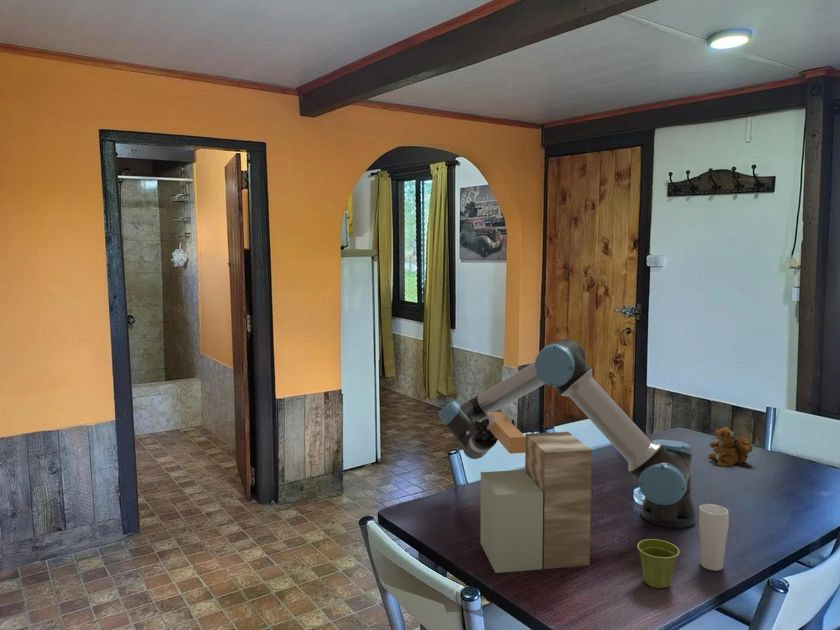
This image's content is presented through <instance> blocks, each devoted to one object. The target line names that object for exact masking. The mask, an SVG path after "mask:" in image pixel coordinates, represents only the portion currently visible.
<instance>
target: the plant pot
mask: <svg viewBox="0 0 840 630" xmlns="http://www.w3.org/2000/svg"><path fill="white" fill-rule="evenodd" d="M636 547H637V550H638V553H639V556H640V560H641V561H640V563H641V568H642V569H641V570H642V577H643V581H645V584H646V585H647V584H648V585H647V586H649V585H650V587H651V586H652V587H651V588H654V587H656V588H655V589H658V588H661V589H663V588H666V589H668V588H670V586H671V585H672V581H673V574H674V570H675V566H676V565H675V564H676V561H677V558H678V556H679V555H680V549H679V548H678V546H676V545H675V544H673V543H672V542H669V541H666V540H661V539H657V538H655V539H653V538H647V539H642V540H640V541H639V542H638V543H637V546H636ZM667 587H668V588H667Z"/></svg>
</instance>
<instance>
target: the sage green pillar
mask: <svg viewBox="0 0 840 630" xmlns="http://www.w3.org/2000/svg"><path fill="white" fill-rule="evenodd" d="M480 545H481V548H482V549H483V551H484V553H485V555H486V557H487V559H488V560H489V563H490V565H491V567H492V569H493V570H494V573H495V574H497V573H498V574H501V573H511V572H523V571H535V570H537V571H538V570H543V567H542V546H543V491H542V490H541V489H540V488H539V487H538V486H537V484H536V483H535V482H534V481H533V480H532V479H531V478H530V476H529V475H528V474H527V473H526V472H525V469H515V470H514V469H512V470H499V471H498V470H496V471H481V472H480Z"/></svg>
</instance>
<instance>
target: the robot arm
mask: <svg viewBox="0 0 840 630" xmlns="http://www.w3.org/2000/svg"><path fill="white" fill-rule="evenodd" d="M586 361H587V360H586V351H585V349H584V348H583V347H582V345H581V344H580V343H579V342H578V341H575V340H573V339H571V338H570V339H569V338H564V339H563V338H562V339H559V340H556V341H555V342H553V343H549V344H547V345H546V346H544V347H543V348H542V349H541V350H540V351H539V352H538V354H537V356H536V359H535V361H534V362H532V363H531V364H529V365H527V366H525V367H524V368H522V369H521V370H519V371H516V372H515V373H513V374H512V375H511V376H509V377H507V378H505V379H504V380H502V381H499V383H497V384H495V385H493V386H492V387H490V388H488V389H486V390H484V391H483V392H481V393H479V394H477V395H476V396H474V397H472V398H471V399H469V400H467V401H466V402H464V403H462V404H460V403H458V402H457V401H455V400H452V401H451V402H449V403H447V404H446V405H445V406H444V407H442V409H441V410H440V411H439V413H438V417H439V418H440V420H441V421H442V423H443V425H444V426H445V427H446V428H447V429H448V430H449V431H450V433H451V434H452V435H453V437H455V439H456V440H457V441H458V443H459V444H460V445H461V446H462V451H463V453H464V455H465V456H466V457H467V458H469V459H471V460H479V459H481V458H483V457H485V455H486V454H487V453H488V452H489V451H490V450H491V449H492V448H493V447H494V446H495V445H496V444H497V442H498V441H499V440H498V439H497V438H496V437H495V436H494V435H493V434H492V432H491V431H490V430H489V429H490V428H491V427H492V426H493V425H494V424H495V420H494V414H490V415H489V417H488V418H487V419H486V413H488V412H498V411H499V410H501V409H502V408H505V406H508V405H509V404H512V403H513V402H515V401H516V400H519V399H520V398H522V397H524V396H526V395H527V394H529V393H531V392H533V391H535V390H537V389H538V388H540V387H542V386H544V385H547V386H549V387H552V388H554V389H555V390H556V391H557V392H558V394H559V395H561V396H562V397H568V398H570V399H571V400H572V401H573V402H574V404H575V405H576V406H577V407H578V408H579V409H580V410H581V411H582V413H583V414H585V416H586V417H587V418H588V419H589V420H590V421H591V422H592V423H593V424H594V426H595V427H596V428H597V429H598V430H599V431H600V432H601V433H602V435H603V436H604V437H605V438H606V439H607V440H608V442H609V443H610V444H612V446H613V447H614V448H615V449H616V450H617V451H618V453H619V454H620V455H621V456H622V457H623V459H625V460H626V461H627V464H628V468H627V469H628V472H629V473H630V474H631V475H632V476H633V478H635V479H636V481H637V482H638V487H639V490H640V492H641V494H642V495H643V496H644V499H643V502H642V503H641V509H640V511H641V512H640V513H641V514H640V515H641V516H642V518H643V519H644V520H646V521H647V522H649V523H652V524H654V525H657V526H661V527H664V528H670V529H671V528H674V529H683V528H689V527H693V526H694V525H695V524H696V522H697V513H696V512H697V511H696V509H695V507H694V506H695V505H694V503H693V499H692V494H691V488H692V487H691V485H692V481H691V480H692V458H693V450H692V449H693V448H692V446H691V445H690V444H688V443H686V442H683V441H678V440H673V439H672V440H670V439H653V440H650V438H649V437H648V436H647V435H646V434H645V433H644V432H643V431H642V430H641V429H640V428H639V426H638V425H637V424H636V423H635V422H634V421H633V420H632V419H631V418H630V417H629V415H628V414H627V413H626V412H625V411H624V410H623V409H622V407H620V406H619V405H618V404H617V402H615V400H614V399H613V398H612V396H610V395H609V394H608V392H607V391H605V390H604V388H602V386H601V385H600V384H599V383H598V382H597V381H596V380H595V379H594V378H593V369H592V368H591V366H589V364H587V362H586ZM504 416H505V417H506V418H507V419H508V420H509V421H510V422H511V423H512V424H513V425H514V426H515V427H516V424H515V420H514V419H512V413H511V412H507V413H506V415H504ZM480 421H481V422H480Z"/></svg>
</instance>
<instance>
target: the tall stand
mask: <svg viewBox="0 0 840 630" xmlns="http://www.w3.org/2000/svg"><path fill="white" fill-rule="evenodd" d="M524 436H525V437H526V453H524V454H525V457H524V459H525V460H524V462H525V463H524V466H525V467H524V471H525V472H526V473H527V474H528V475H529V476H530V478H531V479H532V480H533V481H534V482H535V483H536V484H537V486H538V487H539V488H540V489H541V490H542V491H543V546H542V570H548V569H561V568H563V569H564V568H573V567H586V566H588V567H589V566H590V563H591V562H590V557H591V554H590V553H591V513H592V512H591V511H592V510H591V509H592V504H591V503H592V466H593V465H592V461H593V457H592V456H593V452H592V451H593V450H592V448H590V447H589V446H587V445H586V444H585V443H584V442H582V441H581V440H579V439H578V438H577V437H576V436H575V435H573V434H572V433H570V432H569V431H560V432H559V431H557V432H554V431H553V432H552V431H551V432H535V433H525V435H524Z"/></svg>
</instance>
